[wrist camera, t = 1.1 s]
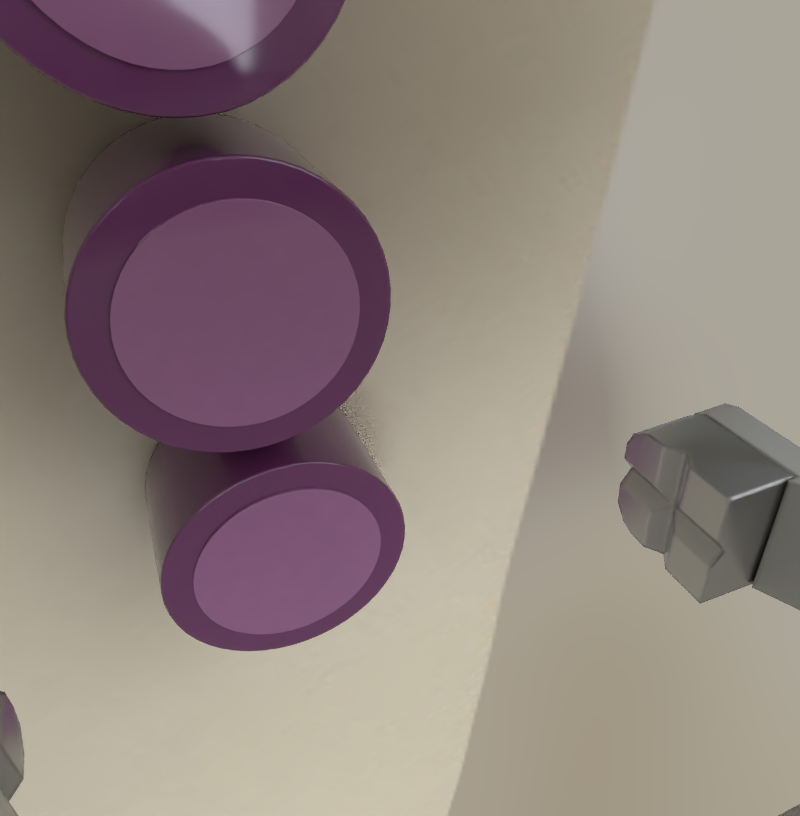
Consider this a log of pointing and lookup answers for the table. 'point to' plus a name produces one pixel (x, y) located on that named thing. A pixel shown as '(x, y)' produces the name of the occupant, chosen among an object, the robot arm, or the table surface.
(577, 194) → the table surface
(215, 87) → the dish
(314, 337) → the dish middle
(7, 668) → the table surface
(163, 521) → the dish
